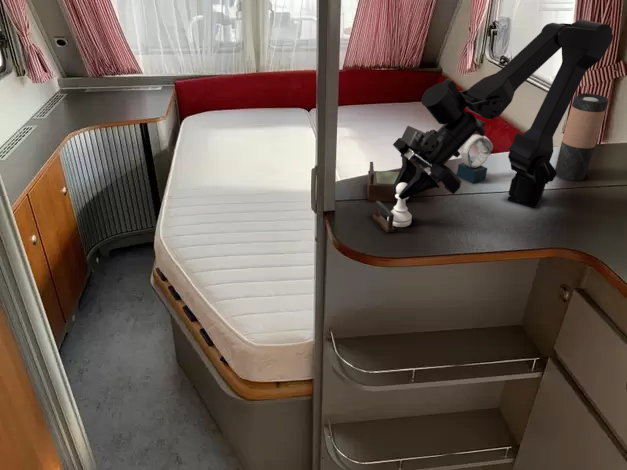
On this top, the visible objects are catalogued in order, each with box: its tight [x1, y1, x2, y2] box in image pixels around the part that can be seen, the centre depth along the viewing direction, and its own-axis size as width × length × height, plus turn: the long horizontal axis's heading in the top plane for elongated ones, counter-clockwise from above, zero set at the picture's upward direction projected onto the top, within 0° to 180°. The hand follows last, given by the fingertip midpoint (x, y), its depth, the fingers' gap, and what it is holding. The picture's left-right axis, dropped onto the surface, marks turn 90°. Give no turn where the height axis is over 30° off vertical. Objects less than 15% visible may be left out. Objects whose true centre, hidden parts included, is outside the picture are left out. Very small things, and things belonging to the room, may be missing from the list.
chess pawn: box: [386, 182, 413, 228], centre depth 110 cm, size 5×5×9 cm
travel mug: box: [554, 92, 609, 181], centre depth 131 cm, size 8×8×20 cm
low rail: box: [372, 201, 395, 234], centre depth 110 cm, size 7×2×4 cm, turn 21°
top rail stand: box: [366, 161, 409, 203], centre depth 122 cm, size 9×8×6 cm
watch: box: [456, 133, 494, 184], centre depth 130 cm, size 6×8×11 cm
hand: (396, 194), depth 109 cm, fingers closed on chess pawn, 3 cm apart
